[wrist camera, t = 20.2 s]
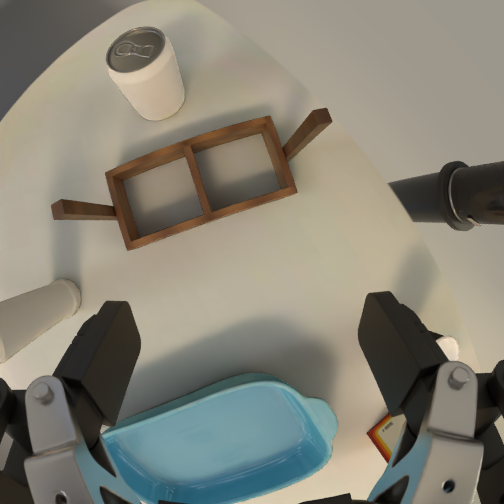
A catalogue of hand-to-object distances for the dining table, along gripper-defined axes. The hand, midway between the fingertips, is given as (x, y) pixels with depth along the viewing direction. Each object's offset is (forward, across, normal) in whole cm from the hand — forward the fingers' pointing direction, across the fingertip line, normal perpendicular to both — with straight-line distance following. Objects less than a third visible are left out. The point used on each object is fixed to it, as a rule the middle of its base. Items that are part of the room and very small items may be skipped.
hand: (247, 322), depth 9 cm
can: (+28, +10, -11) cm, 32 cm away
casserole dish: (+12, +7, +34) cm, 37 cm away
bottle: (+19, +24, +12) cm, 33 cm away
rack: (+24, +5, 0) cm, 25 cm away
